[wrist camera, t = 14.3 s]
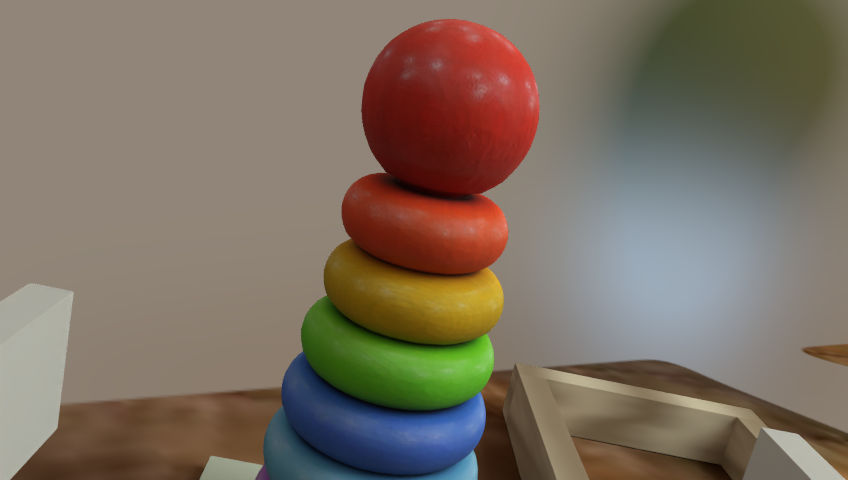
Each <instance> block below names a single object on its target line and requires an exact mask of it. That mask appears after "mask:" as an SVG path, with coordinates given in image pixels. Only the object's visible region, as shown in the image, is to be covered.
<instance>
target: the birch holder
mask: <svg viewBox="0 0 848 480" xmlns="http://www.w3.org/2000/svg"><path fill="white" fill-rule="evenodd" d="M502 411H503V414H504V418H505V422H506V426H507V429H508V433H509V437H510V440H511V444H512V448H513V451H514V455H515V459H516V463H517V466H518V470H519V474H520V477H521V480H589V478H588V476H587V473H586V471H585V469H584V466H583V464H582V462H581V459H580V457H579V455H578V452H577V450H576V448H575V445H574V443H573V441H572V438H571V436H575V437H580V438H586V439H591V440H596V441H601V442H606V443H611V444H616V445H622V446H627V447H632V448H637V449H642V450H647V451H652V452H658V453H663V454H668V455H673V456H678V457H683V458H688V459H694V460H699V461H704V462H709V463H714V464H719V465H721V466H722V467H723V469H724V470H725V471H726V472H727V474H728V475H729V476H730V478H731V479H732V480H743V477H744V474H745V471H746V468H747V466H748V463H749V460H750V457H751V454H752V452H753V449H754V446H755V443H756V440H757V438H758V435H759V432H760V429H761V427H763V428H768V427H767V426H766V425H765V424H764V423H763V422H762V421H761V420H760V419H759V418H758V417H757V416H756V415H755V414H754V413H753V411H752V410H749V409H744V408H739V407H734V406H730V405H725V404H720V403H715V402H710V401H705V400H700V399H695V398H690V397H685V396H680V395H675V394H670V393H665V392H660V391H655V390H650V389H645V388H640V387H635V386H630V385H625V384H620V383H615V382H610V381H605V380H600V379H595V378H590V377H585V376H580V375H575V374H570V373H565V372H560V371H555V370H550V369H545V368H540V367H535V366H530V365H525V364H520V363H515V366H514V369H513V373H512V377H511V381H510V384H509V388H508V392H507V395H506V399H505V403H504V406H503V410H502ZM768 429H769V428H768Z"/></svg>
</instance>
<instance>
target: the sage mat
mask: <svg viewBox="0 0 848 480" xmlns="http://www.w3.org/2000/svg"><path fill="white" fill-rule="evenodd" d="M262 466H263V465H258V464H253V463H248V462H242V461H237V460H231V459H226V458H221V457H215V456H211V457H210V459H209V461H208V463H207V465H206V467H205V469H204V471H203V473H202V475H201V478H200V480H255V479H256V477H257V475H258V473H259V471H260V469H261V468H262Z"/></svg>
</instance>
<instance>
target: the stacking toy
mask: <svg viewBox="0 0 848 480" xmlns="http://www.w3.org/2000/svg"><path fill="white" fill-rule="evenodd" d="M361 112H362V120H363V121H362V122H363V127H364V132H365V135H366V138H367V141H368V144H369V147H370V149H371V151H372V153H373V155H374V156H375V158H376V159H377V161H378V162H379V163H380V164H381V166H382V167H383V169H384V170H385V172H387V173H376V174H370V175H367V176H365V177H362V178H360V179H359V180H357V181H356V182H355V183H353V185H352V186H351V187H350V188H349V189H348V191H347V193H346V194H345V197H344V200H343V203H342V220H343V225H344V227H345V230H346V232H347V234H348V235H349V236H350V237H351V238H352V239H350V240H347V241H346V242H344V243H342V244H340V245H339V246H338V247H336V249H335V250H334V251H333V252H332V253H331V255H330V256H329V258H328V260H327V262H326V266H325V269H324V286H325V290H326V293H327V296H325V297H323V298H321V299H320V300H318V301H317V302H316V303H315V304H314V305H313V306H312V307H311V308H310V310H309V311H308V313H307V314H306V316H305V319H304V322H303V325H302V329H301V340H302V347H303V352H302V353H300V354H299V355H298V356H297V357H296V358H295V359H294V360H293V361H292V363H291V364H290V366H289V368H288V369H287V371H286V373H285V376H284V380H283V384H282V404H283V406H282V407H281V408H280V409H279V410H278V411H277V412H276V414H275V415H274V416H273V418H272V420H271V421H270V423H269V425H268V428H267V431H266V434H265V438H264V449H263V454H264V462H265V464H264V465H263V466H262V468H261V469H260V471H259V473H258V475H257V477H256V479H255V480H477V475H478V467H477V459H476V456H475V453H474V448H475V447H476V446H477V444H478V443H479V441H480V439H481V437H482V434H483V431H484V428H485V420H486V410H485V405H484V401H483V398H482V395H481V393H480V392H481V390H482V389H483V388H484V386H485V385H486V384H487V382H488V380H489V378H490V376H491V373H492V370H493V365H494V354H493V347H492V344H491V342H490V339H489V337H488V336H487V334H486V333H488V332H489V331H490V330H491V329H492V328H493V327H494V326H495V324H496V323H497V322H498V320H499V318H500V316H501V313H502V310H503V304H504V303H503V302H504V298H503V290H502V287H501V285H500V283H499V281H498V279H497V277H496V276H495V274H494V273H493V272H492V271H491V270H489V268H488V266H490V265H491V264H493V263H494V262H495V261H496V260H497V259H498V258H499V257H500V255H501V254H502V252H503V251H504V249H505V246H506V243H507V240H508V225H507V221H506V218H505V216H504V214H503V212H502V211H501V209H500V208H499V207H498V206H497V205H496V204H495V203H494V202H492V201H491V200H490V199H488V198H487V197H485V196H483V195H481V194H480V193H483V192H485V191H487V190H489V189H491V188H493V187H495V186H497V185H498V184H500V183H502V182H503V181H504V180H505V179H506V178H507V177H508V176H509V175H510V174H511V173H512V172H513V171H514V170H515V169H516V168H517V167H518V166H519V164H520V163H521V162H522V160H523V159H524V158H525V156H526V154H527V152H528V151H529V149H530V147H531V144H532V142H533V139H534V136H535V133H536V129H537V125H538V120H539V94H538V89H537V84H536V81H535V78H534V75H533V73H532V71H531V68H530V66H529V65H528V63H527V61H526V60H525V58H524V57H523V56H522V54H521V53H520V51H519V50H518V49H517V48H516V47H515V46H514V45H513V44H512V43H511V42H510V41H509V40H507V39H506V38H505V37H504V36H503V35H501V34H499V33H498V32H496V31H494V30H492V29H490V28H487V27H485V26H483V25H480V24H476V23H473V22H469V21H465V20H457V19H443V20H434V21H429V22H425V23H421V24H419V25H416V26H414V27H412V28H410V29H408V30H406V31H404V32H403V33H401V34H400V35H398V36H397V37H395V38H394V39H393V40H391V42H389V43H388V44H387V45H386V46H385V47H384V49H383V50H382V51H381V53H380V54H379V55H378V57H377V58H376V60H375V61H374V63H373V65H372V67H371V69H370V71H369V73H368V76H367V79H366V82H365V85H364V91H363V98H362V109H361Z"/></svg>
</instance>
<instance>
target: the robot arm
mask: <svg viewBox="0 0 848 480" xmlns="http://www.w3.org/2000/svg"><path fill="white" fill-rule="evenodd" d="M72 300H73V291H68V290H63V289H58V288H53V287H48V286H43V285H38V284H32V283H30V284H28V285H26V286H25V287H23V288H21V289H20V290H18V291H17V292H15V293H13V294H12V295H10V296H9V297H7V298H5V299H4V300H2V301H1V302H0V480H10V479H11V478H12V477H13V476H14V475H15V474H16V473H17V472H18V471H19V470H20V468H21V467H22V466H23V465H24V464H25V463H26V462H27V461H28V460H29V459H30V458H31V456H32V455H33V454H34V453H35V452H36V451H37V450H38V449H39V448H40V447H41V446H42V445H43V443H44V442H45V441H46V440H47V439H48V438H49V437H50V436H51V435H52V434H53V433H54V431H55V430H56V429H57V426H58V418H59V410H60V401H61V393H62V385H63V376H64V368H65V358H66V350H67V343H68V334H69V325H70V317H71V309H72ZM743 480H845V479H844V478H843V477H842V476H841V475H840V474H839V473H838V472H837V471H836V470H835V469H834V468H833V467H832V466H831V465H830V464H829V463H828V462H827V461H825V460H824V459H823V458H822V457H821V456H820V455H819V454H818V453H817V452H816V451H815V450H814V449H813V448H812V447H811V446H810V445H809V444H808V443H807V442H806V441H805V440H804V439H803V438H802V437H801V436H800V435H799V434H794V433H789V432H784V431H779V430H774V429H768V428H763V427H761V429H760V432H759V435H758V438H757V440H756V443H755V446H754V449H753V452H752V454H751V457H750V460H749V463H748V466H747V468H746V471H745V474H744V477H743Z"/></svg>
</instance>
